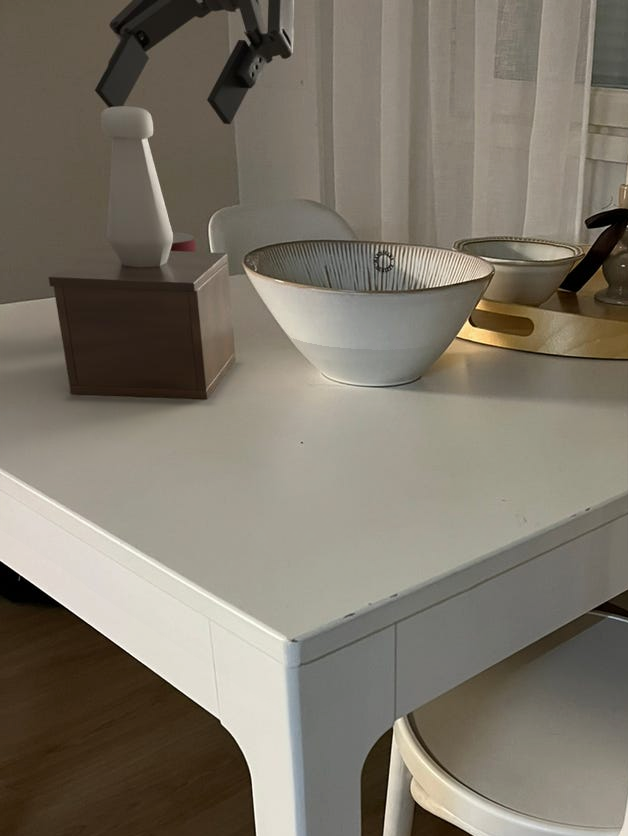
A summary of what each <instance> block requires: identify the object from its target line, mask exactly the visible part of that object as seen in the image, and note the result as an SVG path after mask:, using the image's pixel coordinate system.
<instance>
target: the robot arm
mask: <svg viewBox="0 0 628 836" xmlns="http://www.w3.org/2000/svg"><path fill="white" fill-rule="evenodd" d="M238 10H239V11H240V16H241V18H242V22H243V25H244V29H245V31H243V33H244V35H245V36H246V38H247V40H248V41H249V43H250V44H248V42H247V41H246V39H238V40H237V42H236V44H235V46H234V48H233V49H232V52H231V53H230V55H229V57H228V59H227V61H226V63H225V64H224V66H223V68H222V70H221V72H220V74H219V76H218V78H217V80H216V82H215V83H214V85H213V88H212V89H211V91H210V93H209V95H208V97H207V99H206V101H207V102H208V104H209V105H210V107H211V108H212V109H213V110H214V112H215V113H216V114H217V116H218V118H219V119H220V121H221V122H222V123H223V124H225V125H231V124H232V122H233V120H234V118H235V117H236V114H237V112H238V110H239V109H240V106H241V104H242V102H243V101H244V99H245V97H246V95H247V93H248V91H249V89H252V88H253V87H255V85H256V83H257V81H258V79H259V78H260V76H261V73H262V72H263V70H264V68H265V66H266V65H267V64H270V63H271V62H272V61H273V60H274V58H275V57H277V56H279V57H280V58H281V59H282V60H287V59H288V58H290V57H292V55H293V53H294V19H295V17H294V16H295V13H294V12H295V0H268V1H267V27H266V24H265V20H264V17H263V9H262V6H261V2H260V0H201V2H199V1H198V0H131V1H130V2H129V3H128V4H127V5H126V6H125V7H124V8H123V9H122V10H121V11H120V12H119V13H118V14H117V15H116V16H114V18H113V19H112V20H111V21H110V22H109V28H110V29H111V31H112V32H113V33H114V34H115V35H116V36H115V37H117V39H118V40H119V42H118V43H117V46H116V47H115V48H114V51H113V53H112V55H111V57H110V58H109V60H108V63H107V67H106V69H105V71H104V72H103V74H102V76H101V77H100V80H99V81H98V83H97V85H96V87H95V89H94V92H96V94H97V95H98V96H99V97H100V98H101V100H102V101H103V103H105V105H106V107H107V108H110V107H118V106H125V104H126V102H127V100H128V99H129V97H130V95H131V93H132V90H133V89H134V87H135V85H136V83H137V82H138V80H139V78H140V76H141V74H142V72H143V71H144V68H145V67H146V65H147V63H148V61H149V60H150V56H149V55H148V54H147V53H146V52H148V51H149V50H151V49H152V48H153V47H155V46H156V45H158V44H159V43H160V42H162V41H163V40H164V39H166V38H168V37H169V36H170V35H171V34H173V33H174V32H176V31H177V30H179V29H180V28H181V27H183V26H184V25H186V24H187V23H189V22H190V21H191V20H193V19H194V18H199V19H202V18H204V17H206V16H207V15H209V14H210V13H211V12H219V11H227V12H229V13H237V11H238Z"/></svg>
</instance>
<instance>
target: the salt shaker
mask: <svg viewBox="0 0 628 836" xmlns="http://www.w3.org/2000/svg"><path fill="white" fill-rule="evenodd" d="M100 124H101V129H102V132H103V134H104V136H107V137H109V138H111V159H110V175H109V176H110V177H109V178H110V179H109V193H108V195H109V197H108V211H107V228H106V229H107V230H106V237H107V240H108V243H109V245H110V247H111V248H113V249H114V251H115V252H116V254H117V256H118V257H119V259H120V260H121V262H122V264H123V266H131V267H140V268H141V267H155V266H161V265H163V264H165V263H167V260H168V257H169V253H170V249H171V246H172V242H173V233H172V232H173V230H172V226H171V221H170V218H169V215H168V210H167V207H166V204H165V203H166V202H165V199H164V196H163V193H162V189H161V185H160V181H159V177H158V173H157V170H156V166H155V162H154V158H153V154H152V151H151V147H150V144H149V140H148V139H149V138H150V137H152V136H153V135H154V121H153V118H152V115H151V113H150V112H149V111H148V110H147V109H144V108H142V107H138V106H127V105H126V106H125V105H123V106H118V107H110V108H109V107H107V108H105V109H104V110H103V111H102V112H101V115H100Z"/></svg>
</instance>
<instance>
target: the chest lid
mask: <svg viewBox="0 0 628 836" xmlns="http://www.w3.org/2000/svg"><path fill="white" fill-rule="evenodd" d="M228 261H229V259H228V253H227V252H210V251H209V252H208V251H196V252H186V251H170V253H169V257H168V260H167V263H165V264H163V265H161V266H155V267H141V268H140V267H131V266H123V264H122V262H121V260H120V259H119V257H118V256H117V254H116V252H115V251H114V249H113V248H112V247H99V248H97V249H95V250H94V251H92V252H90V253H88V254H86V255H84V256H83V257H81V258H79V259H78V260H76V261H74V262H73V263H70V264H69V265H67V266H65V267H64V268H62V269H61V270H58V271H56V272H55V273H53V274H51V275H50V276H48V281H49V287H54V286H56V287H81V288H105V289H130V290H154V291H179V292H195V291H196V290H197V289H198V288H199V287H201V286H202V285H203V284H204V283H205V282H206V281H207V280H208V279H209V278H210V277H211V276H212V275H213V274H214V273H216V272H217V271H218V270H219V269H220V268H221V267H222V266H223V265H224V264H225V263H226V262H228Z"/></svg>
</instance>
